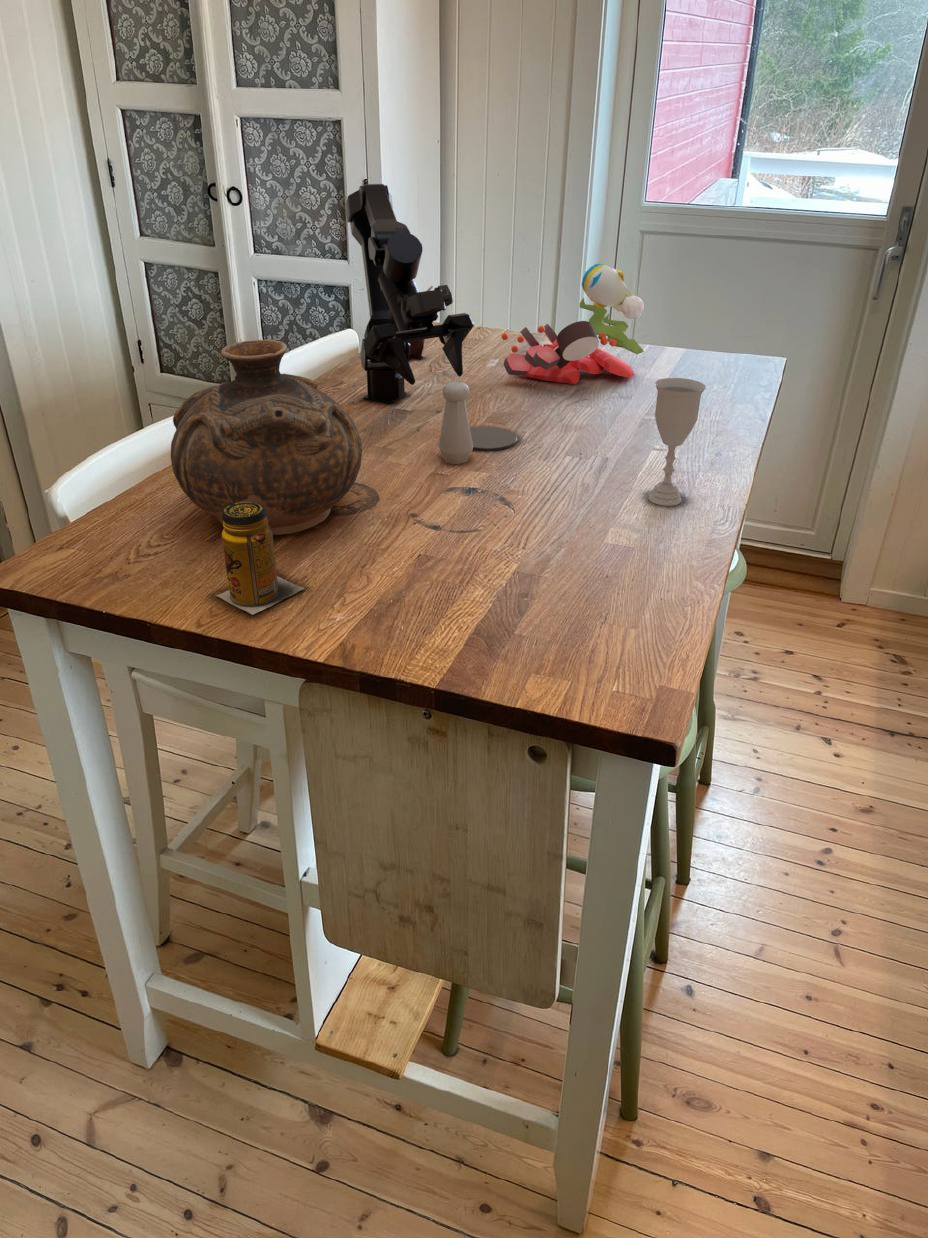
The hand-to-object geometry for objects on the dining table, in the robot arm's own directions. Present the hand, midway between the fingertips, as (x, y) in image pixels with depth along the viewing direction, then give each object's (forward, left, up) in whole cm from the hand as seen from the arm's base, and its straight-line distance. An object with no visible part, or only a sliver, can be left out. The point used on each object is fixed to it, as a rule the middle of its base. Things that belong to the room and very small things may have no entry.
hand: (437, 379), depth 156 cm
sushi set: (+9, +51, -12) cm, 53 cm away
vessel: (-11, -34, -12) cm, 38 cm away
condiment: (+1, -55, -12) cm, 57 cm away
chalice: (+41, -4, -12) cm, 43 cm away
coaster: (+6, +8, -12) cm, 16 cm away
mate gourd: (-29, +49, -12) cm, 58 cm away
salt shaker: (+5, -3, -12) cm, 14 cm away
